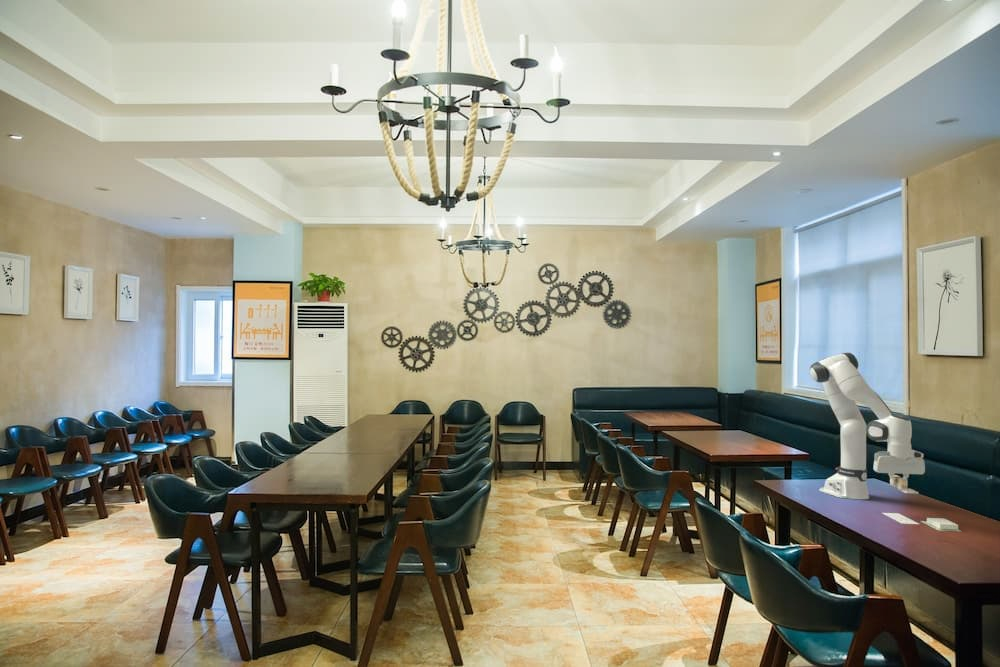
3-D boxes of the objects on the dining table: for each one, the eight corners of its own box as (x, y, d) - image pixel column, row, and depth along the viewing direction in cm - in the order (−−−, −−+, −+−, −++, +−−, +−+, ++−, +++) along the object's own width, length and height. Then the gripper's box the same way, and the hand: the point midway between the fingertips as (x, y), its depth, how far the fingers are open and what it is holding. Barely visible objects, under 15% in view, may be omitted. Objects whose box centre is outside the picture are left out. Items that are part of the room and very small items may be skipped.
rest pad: (882, 514, 278) (882, 512, 278) (898, 514, 278) (898, 513, 278) (902, 524, 262) (902, 523, 262) (919, 525, 262) (919, 524, 262)
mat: (919, 521, 267) (919, 520, 267) (941, 522, 266) (941, 521, 266) (938, 531, 254) (938, 530, 254) (961, 532, 254) (961, 531, 254)
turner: (886, 484, 278) (887, 474, 278) (898, 484, 277) (898, 475, 277) (906, 493, 263) (906, 482, 263) (918, 493, 263) (918, 483, 263)
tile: (926, 517, 264) (940, 524, 255) (944, 518, 263) (958, 524, 255) (926, 523, 264) (940, 529, 255) (944, 523, 263) (957, 530, 254)
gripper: (878, 452, 271) (877, 484, 271) (927, 454, 269) (926, 486, 269) (870, 449, 277) (870, 480, 277) (918, 451, 276) (917, 482, 276)
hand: (898, 483), depth 273 cm, fingers closed on turner, 2 cm apart
